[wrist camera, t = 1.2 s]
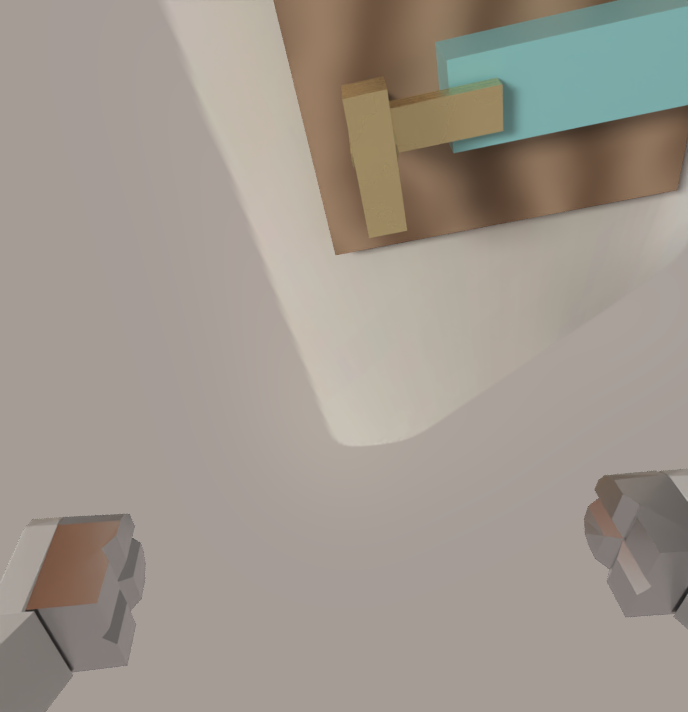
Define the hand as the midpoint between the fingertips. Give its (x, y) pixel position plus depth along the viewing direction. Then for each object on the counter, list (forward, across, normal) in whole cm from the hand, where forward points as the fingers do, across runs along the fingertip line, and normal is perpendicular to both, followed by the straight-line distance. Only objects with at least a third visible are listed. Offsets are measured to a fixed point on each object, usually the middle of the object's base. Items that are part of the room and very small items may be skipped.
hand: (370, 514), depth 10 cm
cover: (+30, -14, -2) cm, 33 cm away
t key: (+30, -7, -1) cm, 31 cm away
